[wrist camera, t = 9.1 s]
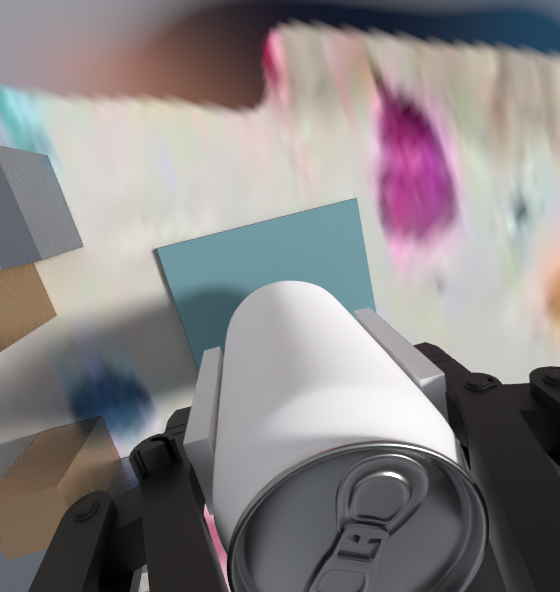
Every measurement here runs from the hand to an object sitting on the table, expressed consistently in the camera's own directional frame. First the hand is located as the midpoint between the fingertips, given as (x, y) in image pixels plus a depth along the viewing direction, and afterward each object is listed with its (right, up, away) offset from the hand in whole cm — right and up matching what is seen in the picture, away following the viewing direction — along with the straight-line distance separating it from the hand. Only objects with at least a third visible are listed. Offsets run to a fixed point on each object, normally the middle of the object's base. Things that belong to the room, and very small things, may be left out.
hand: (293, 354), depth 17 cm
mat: (-1, +2, +6) cm, 6 cm away
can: (0, +1, +2) cm, 2 cm away
